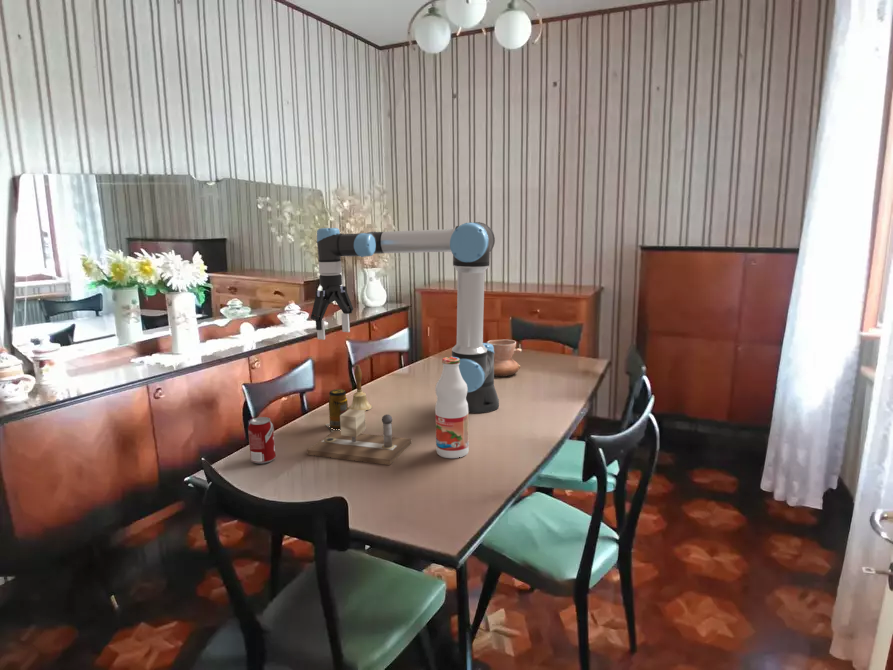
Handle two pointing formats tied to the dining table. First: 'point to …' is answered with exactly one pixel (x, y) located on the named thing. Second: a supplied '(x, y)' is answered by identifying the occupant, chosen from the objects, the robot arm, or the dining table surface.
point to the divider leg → (352, 423)
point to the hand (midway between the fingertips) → (334, 335)
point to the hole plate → (362, 446)
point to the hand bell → (359, 394)
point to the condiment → (336, 408)
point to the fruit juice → (451, 411)
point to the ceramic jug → (504, 357)
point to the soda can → (261, 440)
